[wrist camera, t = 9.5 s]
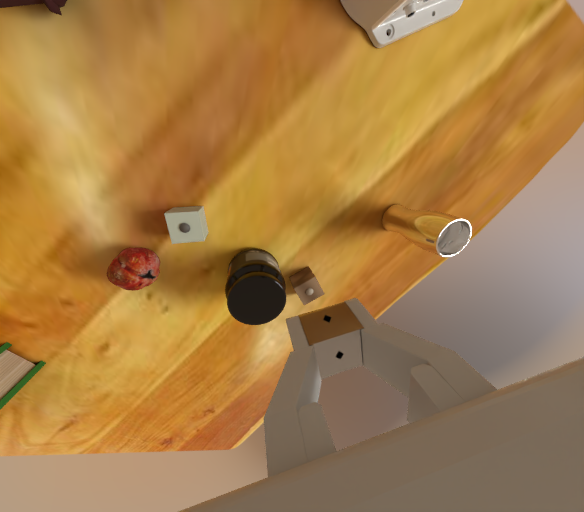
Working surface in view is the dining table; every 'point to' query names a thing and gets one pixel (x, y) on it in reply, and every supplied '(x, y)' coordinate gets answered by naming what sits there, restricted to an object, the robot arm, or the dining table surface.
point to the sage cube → (186, 224)
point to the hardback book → (14, 373)
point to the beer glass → (429, 229)
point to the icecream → (53, 3)
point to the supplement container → (255, 287)
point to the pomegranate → (134, 268)
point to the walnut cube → (306, 285)
